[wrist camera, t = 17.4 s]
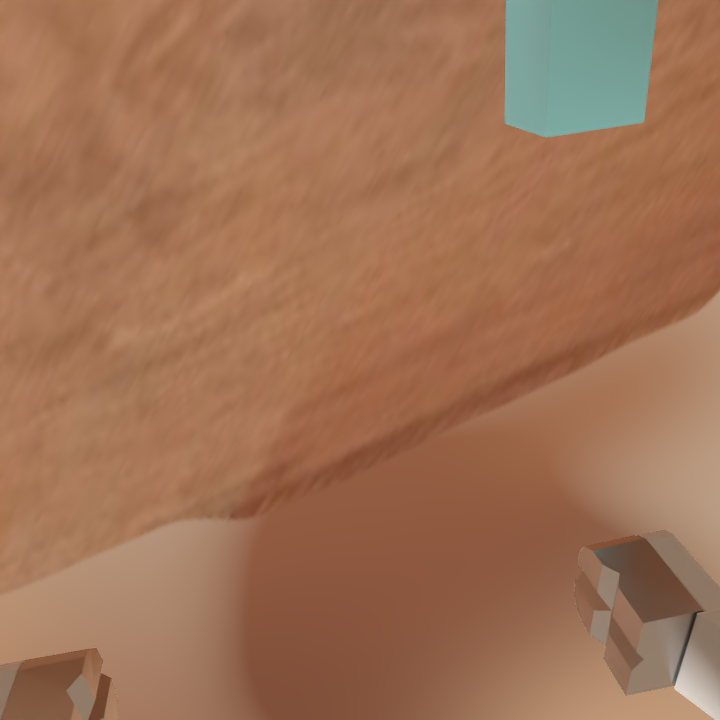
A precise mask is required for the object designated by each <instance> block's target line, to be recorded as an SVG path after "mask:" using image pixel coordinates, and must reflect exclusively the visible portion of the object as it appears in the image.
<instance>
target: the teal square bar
mask: <svg viewBox="0 0 720 720" xmlns="http://www.w3.org/2000/svg"><path fill="white" fill-rule="evenodd" d="M657 9H658V0H506V56H505V124H507V125H510V126H513V127H516V128H519V129H522V130H525V131H528V132H531V133H534V134H537V135H540V136H543V137H552V136H559V135H565V134H572V133H578V132H585V131H592V130H598V129H605V128H611V127H618V126H624V125H631V124H638V123H644V118H645V109H646V101H647V93H648V84H649V76H650V67H651V59H652V51H653V42H654V34H655V25H656V17H657Z"/></svg>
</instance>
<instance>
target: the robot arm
mask: <svg viewBox="0 0 720 720" xmlns="http://www.w3.org/2000/svg"><path fill="white" fill-rule="evenodd" d="M578 563H579V565H580V566H581V568H582V569H583V572H582V573H581V574H580V575H579V576H578V577H577V579H576V580H575V587H574V597H575V602H576V607H577V610H578V613H579V615H580V618H581V620H582V623H583V624H584V626H585V628H586V630H587V631H588V633H589V635H590V636H592V637H593V638H595V639H597V640H598V641H600V642H602V643H603V644H605V651H604V660H605V662H606V663H607V665H608V667H609V669H610V670H611V672H612V673H613V675H614V677H615V679H616V680H617V682H618V684H619V685H620V687H621V689H622V690H623V692H624V694H625V695H626V696H627V695H631V694H636V693H641V692H646V691H651V690H655V689H660V688H665V687H670V686H675V687H674V689H675V690H677V691H678V692H679V693H681V694H682V695H683V696H685V697H686V698H687V699H689V700H690V701H691V702H693V703H694V704H695V705H696V706H698V707H699V708H701V709H702V710H703V711H704V712H706V713H707V714H708V715H710V716H711V717H712V718H714V719H715V720H720V587H719V586H718V584H717V583H716V582H715V581H714V580H713V579H712V578H711V577H710V576H709V574H708V573H707V572H706V571H705V570H704V569H703V568H702V567H701V565H700V564H699V563H698V562H697V561H696V560H695V559H694V557H693V556H692V555H691V554H690V553H689V552H688V551H687V550H686V548H685V547H684V546H683V545H682V544H681V543H680V542H679V541H678V539H677V538H676V537H675V536H674V535H673V534H672V533H670V532H668V531H666V530H662V531H656V532H652V533H647V534H642V535H638V536H630V537H625V538H620V539H616V540H611V541H607V542H602V543H598V544H594V545H589V546H584V547H583V548H582V550H581V551H580V553H579V559H578ZM102 664H103V659H102V658H101V656H100V654H99V652H98V650H97V648H91V649H85V650H80V651H74V652H68V653H63V654H57V655H52V656H46V657H41V658H35V659H29V660H24V661H19V662H14V663H9V664H3V665H0V720H118V699H117V693H116V688H115V686H114V684H113V682H112V679H111V678H110V677H108V676H106V675H104V674H102V673H101V669H102Z"/></svg>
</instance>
